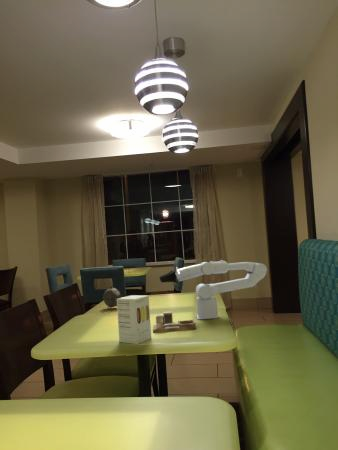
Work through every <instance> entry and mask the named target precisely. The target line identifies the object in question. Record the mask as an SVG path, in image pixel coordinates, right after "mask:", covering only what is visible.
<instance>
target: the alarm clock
mask: <svg viewBox="0 0 338 450" xmlns="http://www.w3.org/2000/svg"><path fill="white" fill-rule="evenodd" d="M110 283H112V284H111V285H110ZM108 286H109V288H108V289H106V290H104V293H103V296H102V299H103V302H104V304H105V306H107V308H108V309H109V310H111V308H115V307H117V299H119V298H122V294H121V292H120V290H118V288H116V287H113V286H114V282H113V281H109V282H108Z"/></svg>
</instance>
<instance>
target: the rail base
mask: <svg viewBox="0 0 338 450" xmlns="http://www.w3.org/2000/svg"><path fill="white" fill-rule="evenodd" d="M187 330H197V325H196V322H195V319H188V320H187V319H186V320H178V321H177V322H175V323H174V322H173V323H172V324H165V323H164V315H163V313H157V314H156V313H155V325H154V324H153V325H152V333H153V334H154V333H164V332H175V331H177V332H178V331H187Z"/></svg>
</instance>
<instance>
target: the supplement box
mask: <svg viewBox="0 0 338 450" xmlns="http://www.w3.org/2000/svg"><path fill="white" fill-rule="evenodd" d="M116 307H117V308H116V310H117V311H116V312H117V325H118V326H117V327H118V340H119V343H125V344H134V345H138V344H141V343H143V342H145V341H147V340H150V339H152V329H151V328H152V326H151V313H150V312H151V311H150V299H149V295H139V294H138V295H136V294H135V295H134V294H133V295H132V294H131V295H127V296H124V297H123V296H122V297H121V298H119V299H117V306H116Z"/></svg>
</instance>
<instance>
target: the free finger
mask: <svg viewBox="0 0 338 450" xmlns="http://www.w3.org/2000/svg"><path fill="white" fill-rule="evenodd" d="M162 314H163V315H164V323H165V324H172V323H174V322H173V311H163V313H162Z"/></svg>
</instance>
